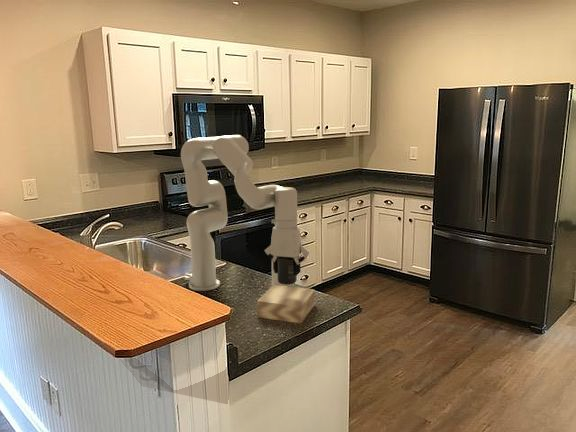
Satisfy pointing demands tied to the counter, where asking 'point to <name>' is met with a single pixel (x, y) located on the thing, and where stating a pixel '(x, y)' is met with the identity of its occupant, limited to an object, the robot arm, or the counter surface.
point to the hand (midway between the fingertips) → (286, 272)
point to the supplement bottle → (286, 270)
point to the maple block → (286, 303)
